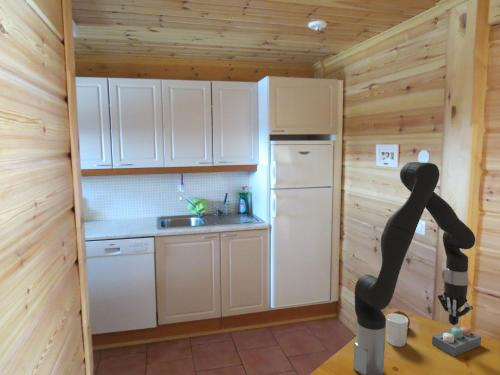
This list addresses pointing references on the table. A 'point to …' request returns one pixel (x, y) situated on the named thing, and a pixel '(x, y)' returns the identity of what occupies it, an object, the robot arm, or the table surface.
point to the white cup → (396, 329)
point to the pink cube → (466, 331)
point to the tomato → (403, 315)
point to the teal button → (457, 333)
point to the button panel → (456, 343)
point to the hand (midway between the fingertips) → (453, 323)
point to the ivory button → (448, 338)
